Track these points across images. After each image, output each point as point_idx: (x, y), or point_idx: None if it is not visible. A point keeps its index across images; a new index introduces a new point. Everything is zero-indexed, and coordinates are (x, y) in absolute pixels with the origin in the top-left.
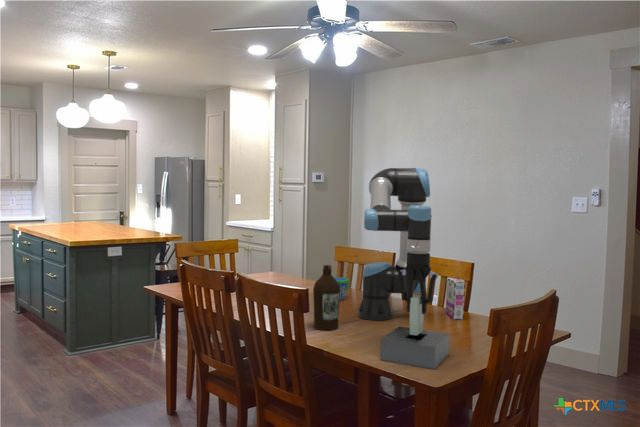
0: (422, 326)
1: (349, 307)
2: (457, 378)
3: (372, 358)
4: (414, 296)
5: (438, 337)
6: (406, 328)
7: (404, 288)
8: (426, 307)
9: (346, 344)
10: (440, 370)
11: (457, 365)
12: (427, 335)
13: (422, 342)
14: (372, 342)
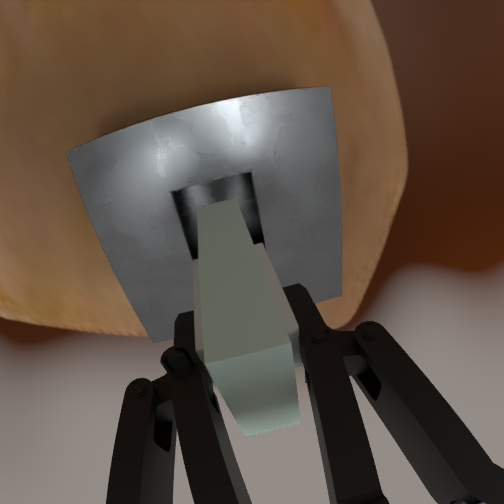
0: (239, 207)
1: None
2: (374, 267)
3: None
4: (228, 400)
5: (313, 181)
6: (112, 154)
7: (171, 487)
8: (317, 312)
9: (11, 258)
10: None
11: (356, 183)
12: (260, 187)
13: (288, 285)
14: (25, 182)
